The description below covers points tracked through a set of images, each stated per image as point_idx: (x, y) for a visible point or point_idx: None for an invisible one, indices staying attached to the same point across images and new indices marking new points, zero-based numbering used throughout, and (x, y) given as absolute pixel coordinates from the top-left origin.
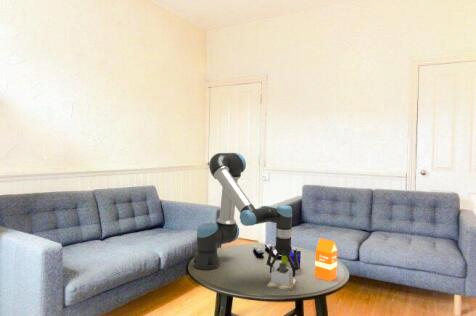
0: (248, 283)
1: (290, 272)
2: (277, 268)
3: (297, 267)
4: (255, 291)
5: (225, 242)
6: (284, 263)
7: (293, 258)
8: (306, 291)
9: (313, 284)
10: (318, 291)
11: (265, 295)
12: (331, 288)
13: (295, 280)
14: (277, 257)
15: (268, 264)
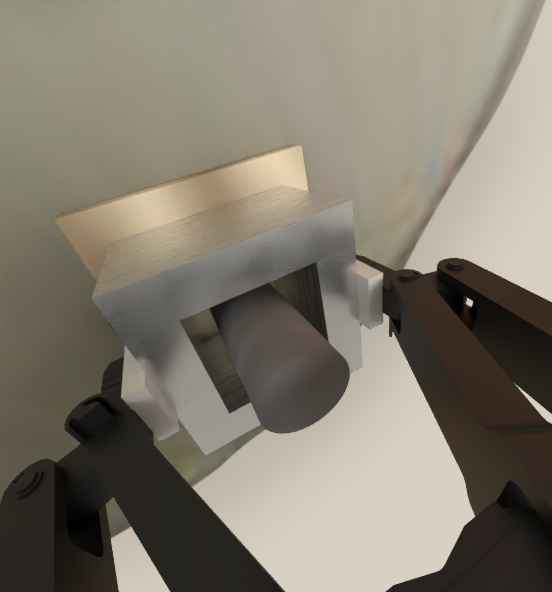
0: (23, 460)
1: (358, 330)
2: (198, 362)
3: (463, 320)
4: (170, 462)
5: None
6: (318, 366)
7: None
8: (384, 254)
9: (407, 106)
10: (436, 204)
11: (239, 440)
12: (500, 97)
13: (303, 181)
14: (234, 535)
15: (103, 504)
